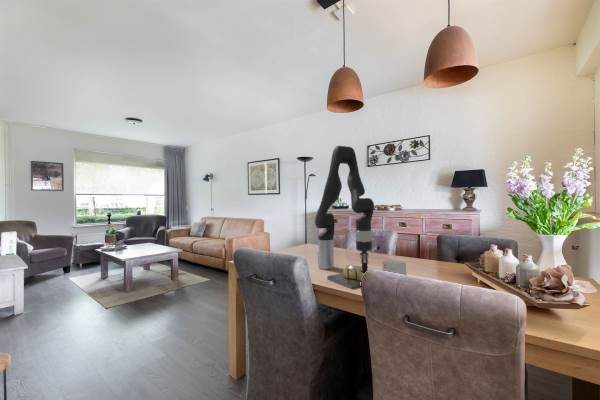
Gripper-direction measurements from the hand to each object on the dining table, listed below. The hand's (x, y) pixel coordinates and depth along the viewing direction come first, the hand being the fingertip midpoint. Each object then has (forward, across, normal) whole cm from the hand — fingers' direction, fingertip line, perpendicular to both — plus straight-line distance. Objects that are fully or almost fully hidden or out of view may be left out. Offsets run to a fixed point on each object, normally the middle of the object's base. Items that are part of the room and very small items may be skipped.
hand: (364, 275), depth 125 cm
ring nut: (+2, -5, -3) cm, 6 cm away
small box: (+5, +6, +13) cm, 15 cm away
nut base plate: (+4, -6, -7) cm, 10 cm away
